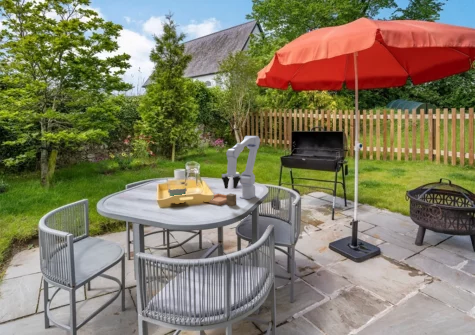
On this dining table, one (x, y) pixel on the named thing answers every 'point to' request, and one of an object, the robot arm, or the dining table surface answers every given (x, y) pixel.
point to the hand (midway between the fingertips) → (230, 188)
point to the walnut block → (231, 199)
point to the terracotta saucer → (219, 199)
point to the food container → (177, 192)
